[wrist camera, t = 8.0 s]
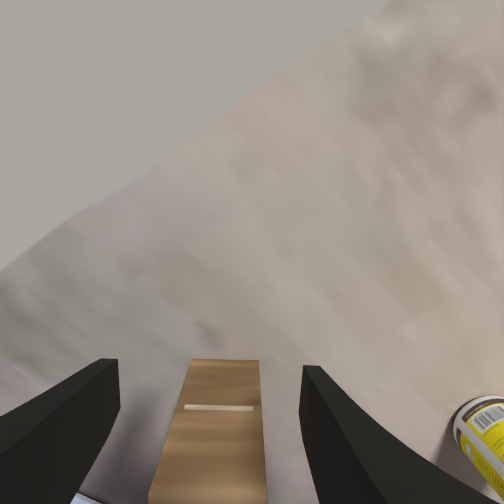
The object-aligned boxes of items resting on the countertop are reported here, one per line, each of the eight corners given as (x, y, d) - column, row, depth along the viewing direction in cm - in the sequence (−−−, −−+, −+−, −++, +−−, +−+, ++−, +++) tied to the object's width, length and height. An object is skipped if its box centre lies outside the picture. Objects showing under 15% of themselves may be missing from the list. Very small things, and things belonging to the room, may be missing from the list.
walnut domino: (191, 357, 22) (148, 492, 12) (258, 359, 22) (267, 494, 13) (191, 379, 23) (149, 526, 13) (257, 380, 23) (265, 527, 13)
